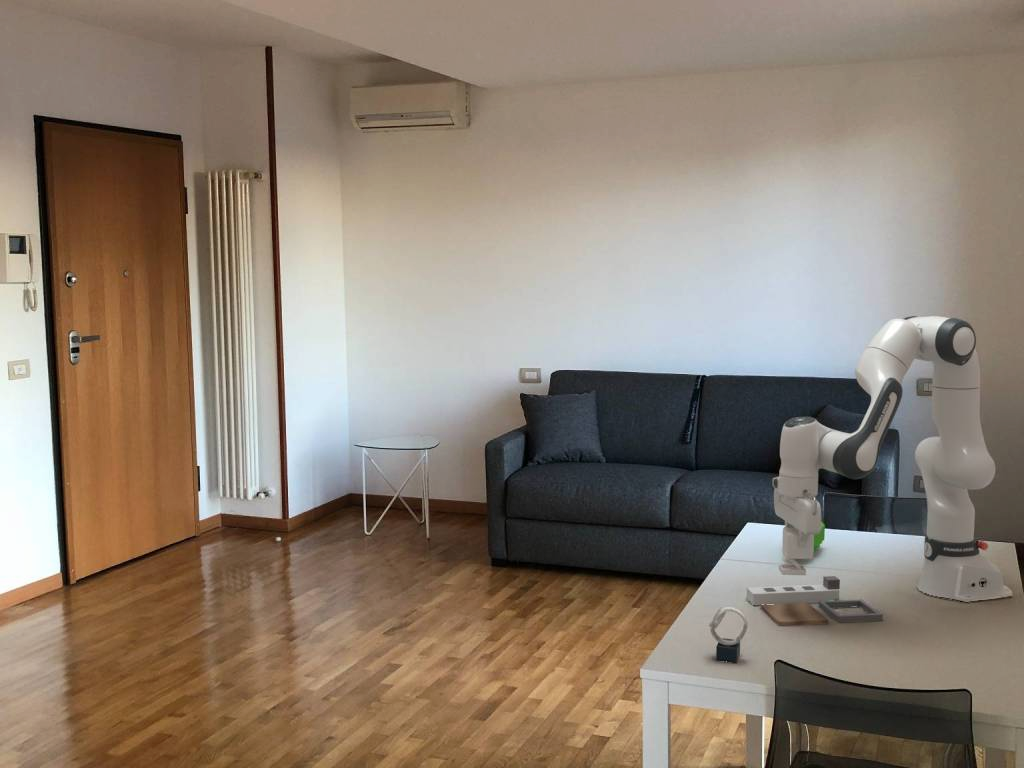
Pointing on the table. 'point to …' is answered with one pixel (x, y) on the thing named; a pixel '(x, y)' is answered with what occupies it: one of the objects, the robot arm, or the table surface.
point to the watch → (727, 647)
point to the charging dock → (872, 615)
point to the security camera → (795, 552)
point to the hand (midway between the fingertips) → (796, 543)
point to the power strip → (795, 593)
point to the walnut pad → (794, 614)
